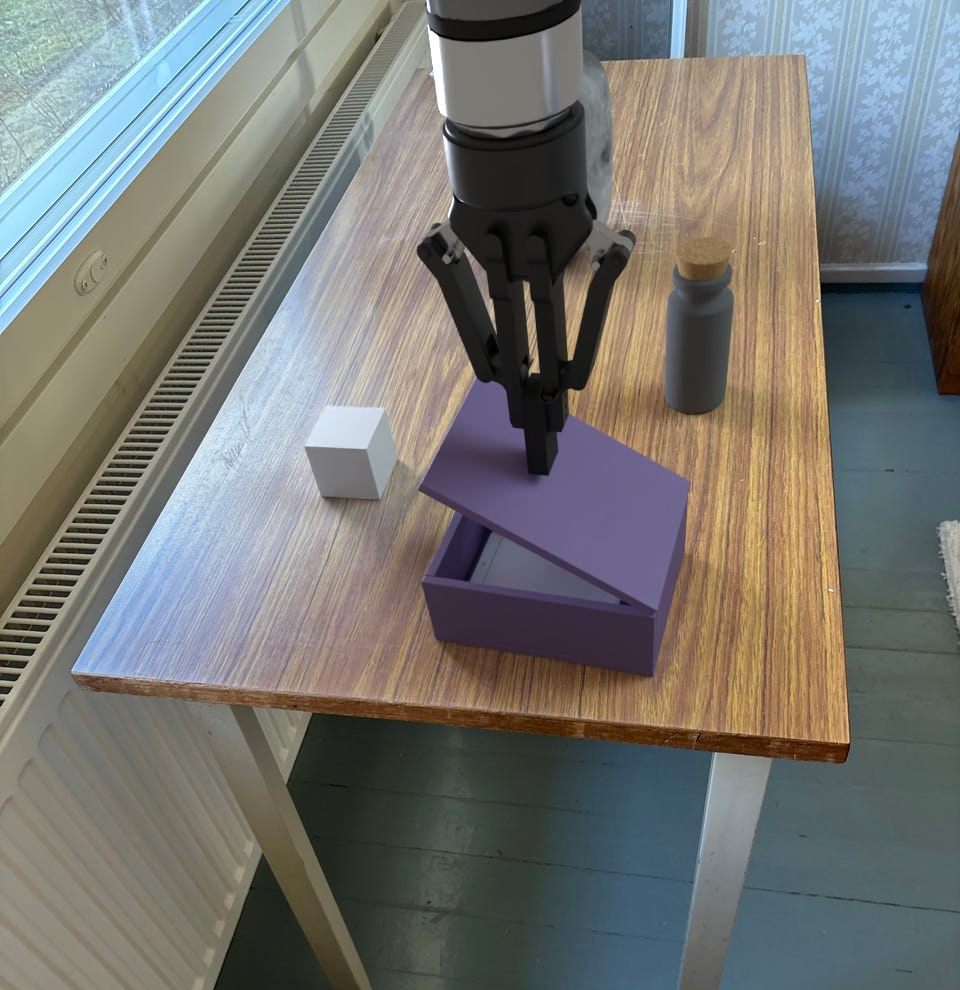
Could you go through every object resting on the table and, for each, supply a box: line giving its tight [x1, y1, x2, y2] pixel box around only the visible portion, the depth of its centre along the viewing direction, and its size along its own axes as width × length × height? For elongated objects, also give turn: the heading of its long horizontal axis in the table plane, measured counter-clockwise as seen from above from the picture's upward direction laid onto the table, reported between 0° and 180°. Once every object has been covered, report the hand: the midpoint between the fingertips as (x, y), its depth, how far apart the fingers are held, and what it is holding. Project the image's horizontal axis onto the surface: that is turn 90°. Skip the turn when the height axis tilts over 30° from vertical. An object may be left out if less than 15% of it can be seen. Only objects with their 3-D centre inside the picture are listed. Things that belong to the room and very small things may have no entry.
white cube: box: [303, 405, 399, 501], centre depth 87 cm, size 6×6×6 cm
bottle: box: [664, 236, 735, 415], centre depth 86 cm, size 6×6×15 cm
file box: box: [421, 496, 689, 678], centre depth 74 cm, size 18×14×7 cm
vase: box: [574, 48, 614, 258], centre depth 101 cm, size 16×16×30 cm
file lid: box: [417, 376, 692, 616], centre depth 67 cm, size 18×14×1 cm
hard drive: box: [470, 531, 624, 605], centre depth 76 cm, size 2×8×12 cm
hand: (543, 462), depth 66 cm, fingers closed
